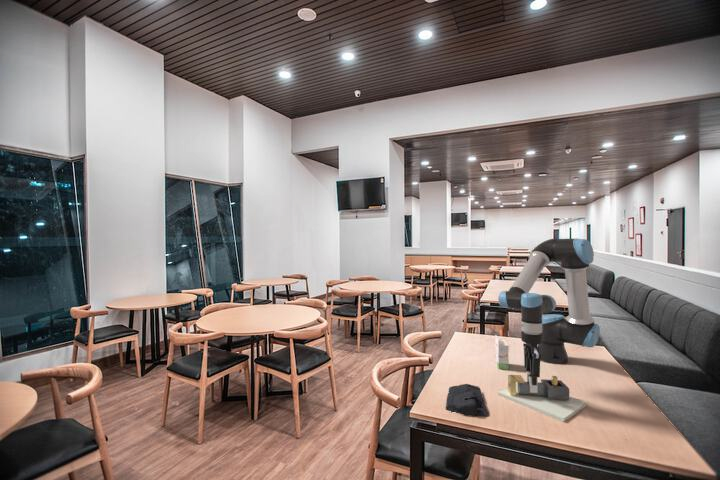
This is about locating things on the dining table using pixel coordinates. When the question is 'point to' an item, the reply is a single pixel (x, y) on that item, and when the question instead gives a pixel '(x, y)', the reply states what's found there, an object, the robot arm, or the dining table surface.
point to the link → (546, 389)
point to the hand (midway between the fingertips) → (531, 390)
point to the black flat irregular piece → (466, 400)
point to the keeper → (514, 383)
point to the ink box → (501, 354)
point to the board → (546, 404)
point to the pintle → (554, 381)
